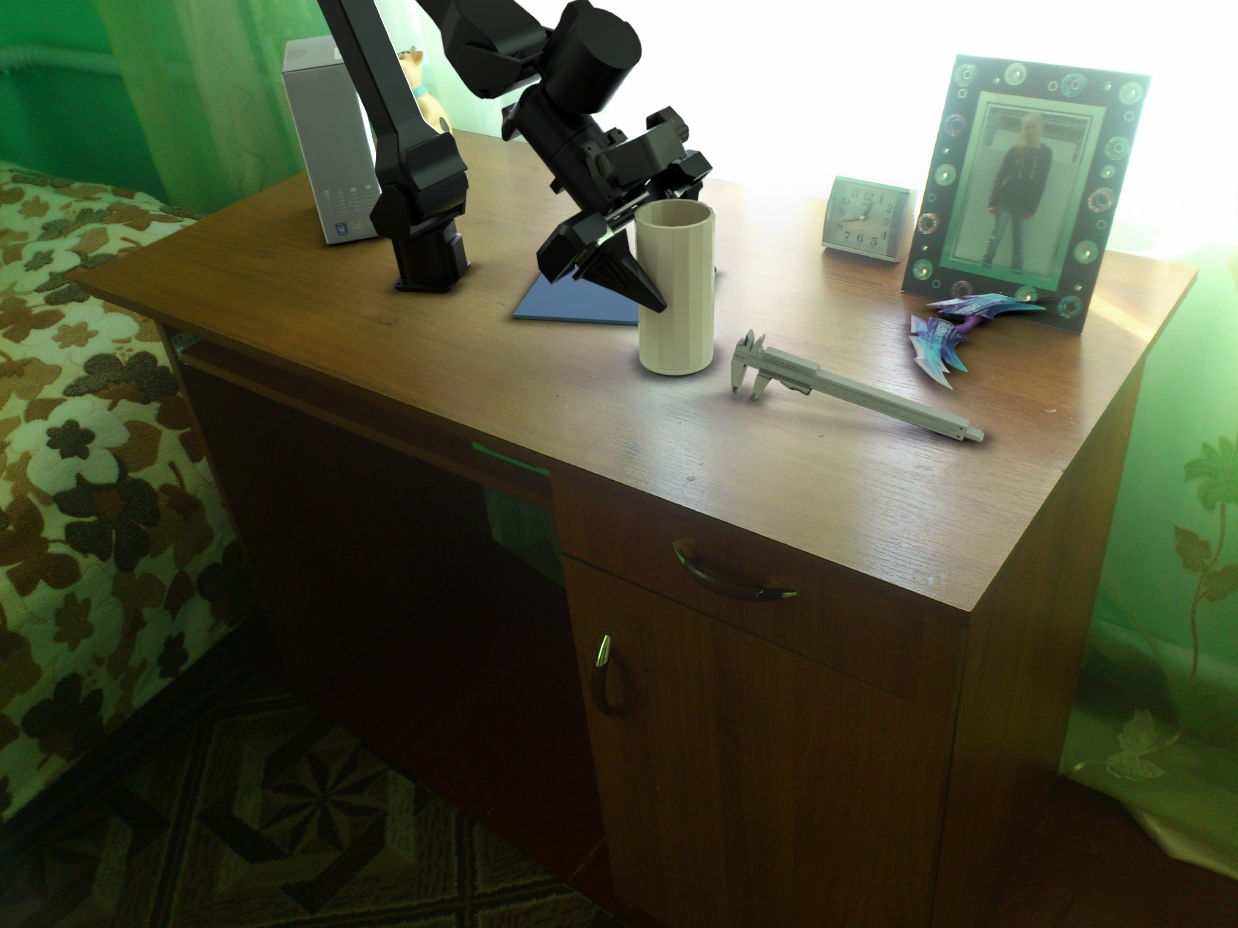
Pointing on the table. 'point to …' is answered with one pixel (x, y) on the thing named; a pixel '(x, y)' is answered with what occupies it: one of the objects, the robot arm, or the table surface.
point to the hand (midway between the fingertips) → (688, 292)
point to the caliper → (837, 388)
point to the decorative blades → (955, 329)
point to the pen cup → (677, 284)
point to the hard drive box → (332, 137)
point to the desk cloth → (576, 302)
